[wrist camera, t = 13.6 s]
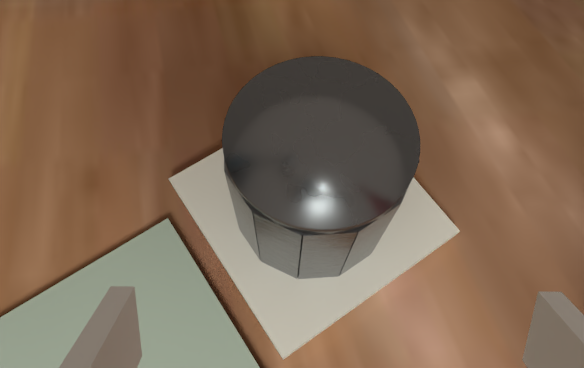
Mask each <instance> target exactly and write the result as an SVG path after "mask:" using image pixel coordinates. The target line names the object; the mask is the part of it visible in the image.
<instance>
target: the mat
mask: <svg viewBox="0 0 584 368" xmlns="http://www.w3.org/2000/svg"><path fill="white" fill-rule="evenodd" d="M110 286H134V287H135V296H136V305H137V313H138V322H139V331H140V340H141V349H142V357H141V360H140V362H139V365H138V367H137V368H260V367H259V366H258V364H257V362H256V361H255V359H254V357H253V356H252V354H251V353H250V351H249V349H248V348H247V346H246V344H245V343H244V341H243V340H242V338H241V336H240V335H239V333H238V331H237V330H236V328H235V327H234V325H233V323H232V322H231V320H230V318H229V317H228V315H227V313H226V312H225V310H224V309H223V307H222V305H221V304H220V302H219V300H218V299H217V297H216V296H215V294H214V292H213V291H212V289H211V287H210V286H209V284H208V283H207V281H206V279H205V278H204V276H203V274H202V273H201V271H200V270H199V268H198V266H197V265H196V263H195V261H194V260H193V258H192V256H191V255H190V253H189V252H188V250H187V248H186V247H185V245H184V243H183V242H182V240H181V239H180V237H179V235H178V234H177V232H176V230H175V229H174V227H173V226H172V224H171V222H170V221H169V219H168V218H167V219H165V220H164V221H162V222H160V223H159V224H157V225H155V226H154V227H152V228H150V229H149V230H147V231H145V232H144V233H142V234H140V235H138V236H137V237H135V238H133V239H132V240H130V241H128V242H127V243H125V244H123V245H122V246H120V247H118V248H117V249H115V250H113V251H111V252H110V253H108V254H106V255H105V256H103V257H101V258H100V259H98V260H96V261H95V262H93V263H91V264H89V265H88V266H86V267H84V268H83V269H81V270H79V271H78V272H76V273H74V274H73V275H71V276H69V277H68V278H66V279H64V280H62V281H61V282H59V283H57V284H56V285H54V286H52V287H51V288H49V289H47V290H46V291H44V292H42V293H41V294H39V295H37V296H35V297H34V298H32V299H30V300H29V301H27V302H25V303H24V304H22V305H20V306H19V307H17V308H15V309H13V310H12V311H10V312H8V313H7V314H5V315H3V316H2V317H0V368H59V367H60V365H61V364H62V362H63V361H64V359H65V357H66V356H67V354H68V353H69V351H70V350H71V348H72V346H73V345H74V343H75V342H76V340H77V338H78V337H79V335H80V334H81V332H82V331H83V329H84V327H85V326H86V324H87V323H88V321H89V320H90V318H91V316H92V315H93V313H94V312H95V310H96V309H97V307H98V305H99V304H100V302H101V301H102V299H103V297H104V296H105V294H106V293H107V291H108V290H109V288H110Z"/></svg>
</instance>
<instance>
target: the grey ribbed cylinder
mask: <svg viewBox="0 0 584 368" xmlns="http://www.w3.org/2000/svg"><path fill="white" fill-rule="evenodd" d="M222 146H223V154H224V172H225V176H226V180H227V184H228V188H229V191H230V195H231V199H232V203H233V207H234V211H235V215H236V218H237V222H238V226H239V230H240V231H241V233H242V234H243V236H244V237H245V239H246V240H247V242H248V243H249V245H250V246H251V248H252V249H253V251H254V252H255V254H256V255H257V257H258V258H259V260H260V261H261V262H263V263H265V264H267V265H269V266H271V267H273V268H275V269H277V270H279V271H281V272H284V273H286V274H288V275H290V276H292V277H294V278H296V279H297V278H298V279H309V278H323V277H338V276H340V275H342V274H343V273H345V272H346V271H347V270H349V269H350V268H352V267H353V266H355V265H356V264H358V263H359V262H361V261H362V260H363V259H365V258H366V257H368V256H369V255H371V253H372V252H373V250H374V249H375V247H376V245H377V244H378V242H379V240H380V239H381V237H382V235H383V233H384V232H385V230H386V228H387V227H388V225H389V223H390V222H391V220H392V218H393V217H394V215H395V213H396V212H397V210H398V208H399V207H400V205H401V203H402V201H403V199H404V196H405V194H406V191H407V189H408V187H409V185H410V183H411V181H412V179H413V177H414V175H415V172H416V169H417V166H418V163H419V156H420V136H419V129H418V126H417V122H416V119H415V117H414V114H413V112H412V110H411V108H410V106H409V105H408V103H407V102H406V100H405V98H404V97H403V96H402V95H401V94H400V92H399V91H398V90H397V89H396V88H395V87H394V86H393V85H392V84H391V83H390V82H389V81H387V80H386V79H385V78H383V77H382V76H381V75H379V74H378V73H376V72H374V71H373V70H371V69H369V68H367V67H365V66H362V65H360V64H357V63H354V62H351V61H348V60H344V59H339V58H334V57H324V56H312V57H302V58H296V59H292V60H288V61H285V62H282V63H279V64H276V65H274V66H272V67H270V68H268V69H266V70H264V71H263V72H261V73H259V74H258V75H256V76H255V77H254V78H253V79H251V80H250V81H249V82H248V83H247V84H246V85H245V86H244V87H243V88H242V89H241V90H240V92H239V93H238V94H237V96H236V97H235V98H234V100H233V102H232V104H231V105H230V107H229V110H228V112H227V115H226V118H225V121H224V126H223V133H222Z"/></svg>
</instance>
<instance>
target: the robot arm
mask: <svg viewBox="0 0 584 368" xmlns="http://www.w3.org/2000/svg"><path fill="white" fill-rule="evenodd" d="M141 357H142V349H141V340H140V331H139V322H138V313H137V305H136V296H135V287H134V286H110V288H109V290H108V291H107V293H106V294H105V296H104V297H103V299H102V301H101V302H100V304H99V305H98V307H97V309H96V310H95V312H94V313H93V315H92V316H91V318H90V320H89V321H88V323H87V324H86V326H85V327H84V329H83V331H82V332H81V334H80V335H79V337H78V338H77V340H76V342H75V343H74V345H73V346H72V348H71V350H70V351H69V353H68V354H67V356H66V357H65V359H64V361H63V362H62V364H61V365H60V367H59V368H137V367H138V365H139V362H140V360H141ZM522 360H523V362H524V363H525V365H526V366H527V368H584V315H583V314H582V313H581V312H580V311H579V310H578V309H577V308H576V307H575V306H574V305H573V304H572V302H571V301H570V300H569V299H568V298H567V297H566V296H565V295H564V294H563V293H562V292H538V295H537V299H536V303H535V308H534V312H533V316H532V321H531V325H530V329H529V334H528V338H527V342H526V347H525V351H524V355H523V359H522Z"/></svg>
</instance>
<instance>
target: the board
mask: <svg viewBox="0 0 584 368" xmlns="http://www.w3.org/2000/svg"><path fill="white" fill-rule="evenodd" d="M169 181H170V183H171V184H172V186H173V188H174V189H175V191H176V192H177V194H178V195H179V197H180V199H181V200H182V202H183V203H184V205H185V206H186V208H187V210H188V211H189V213H190V214H191V216H192V217H193V219H194V221H195V222H196V224H197V225H198V227H199V228H200V230H201V232H202V233H203V235H204V236H205V238H206V239H207V241H208V243H209V244H210V246H211V247H212V249H213V250H214V252H215V254H216V255H217V257H218V258H219V260H220V261H221V263H222V265H223V266H224V268H225V269H226V271H227V272H228V274H229V276H230V277H231V279H232V280H233V282H234V283H235V285H236V287H237V288H238V290H239V291H240V293H241V294H242V296H243V298H244V299H245V301H246V302H247V304H248V305H249V307H250V309H251V310H252V312H253V313H254V315H255V316H256V318H257V320H258V321H259V323H260V324H261V326H262V327H263V329H264V331H265V332H266V334H267V335H268V337H269V338H270V340H271V342H272V343H273V345H274V346H275V348H276V349H277V351H278V353H279V354H280V356H281V357H282V359H283V360H284V359H285V358H286V357H288V356H289V355H290V354H292V353H293V352H295V351H296V350H297V349H299V348H300V347H302V346H303V345H304V344H306V343H307V342H308V341H310V340H311V339H313V338H314V337H315V336H317V335H318V334H320V333H321V332H322V331H324V330H325V329H327V328H328V327H329V326H331V325H332V324H333V323H335V322H336V321H338V320H339V319H340V318H342V317H343V316H345V315H346V314H347V313H349V312H350V311H351V310H353V309H354V308H356V307H357V306H358V305H360V304H361V303H363V302H364V301H365V300H367V299H368V298H369V297H371V296H372V295H374V294H375V293H376V292H378V291H379V290H381V289H382V288H383V287H385V286H386V285H387V284H389V283H390V282H392V281H393V280H394V279H396V278H397V277H399V276H400V275H401V274H403V273H404V272H405V271H407V270H408V269H410V268H411V267H412V266H414V265H415V264H417V263H418V262H419V261H421V260H422V259H423V258H425V257H426V256H428V255H429V254H430V253H432V252H433V251H435V250H436V249H437V248H439V247H440V246H441V245H443V244H444V243H446V242H447V241H448V240H450V239H451V238H453V237H454V236H455V235H456V234H457V233H458V232H459V231H460V230H459V229H458V228H457V227H456V226H455V225H454V224H453V222H452V221H451V220H450V219H449V218H448V217H447V215H446V214H445V213H444V212H443V211H442V210H441V209H440V207H439V206H438V205H437V204H436V203H435V202H434V200H433V199H432V198H431V197H430V196H429V195H428V194H427V192H426V191H425V190H424V189H423V188H422V187H421V185H420V184H419V183H418V182H417V181H416V180H415V179H414V177H413V179H412V181H411V183H410V185H409V187H408V189H407V191H406V194H405V196H404V199H403V201H402V203H401V205H400V207H399V208H398V210H397V212H396V213H395V215H394V217H393V218H392V220H391V222H390V223H389V225H388V227H387V228H386V230H385V232H384V233H383V235H382V237H381V239H380V240H379V242H378V244H377V245H376V247H375V249H374V250H373V252H372V253H371V255H369V256H368V257H366V258H365V259H363V260H362V261H361V262H359V263H358V264H356V265H355V266H353V267H352V268H350V269H349V270H347V271H346V272H345V273H343V274H342V275H340V276H338V277H323V278H309V279H298V278H297V279H296V278H294V277H292V276H290V275H288V274H286V273H284V272H281V271H279V270H277V269H275V268H273V267H271V266H269V265H267V264H265V263H263V262H261V261H260V260H259V258H258V257H257V255H256V254H255V252H254V251H253V249H252V248H251V246H250V245H249V243H248V242H247V240H246V239H245V237H244V236H243V234H242V233H241V231H240V230H239V226H238V222H237V218H236V215H235V211H234V207H233V203H232V199H231V195H230V191H229V188H228V184H227V180H226V176H225V172H224V154H223V148H222V149H220V150H218V151H216V152H215V153H213V154H211V155H209V156H208V157H206V158H204V159H202V160H201V161H199V162H197V163H195V164H194V165H192V166H190V167H188V168H187V169H185V170H183V171H181V172H180V173H178V174H176V175H174V176H173V177H171V178H169Z"/></svg>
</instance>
